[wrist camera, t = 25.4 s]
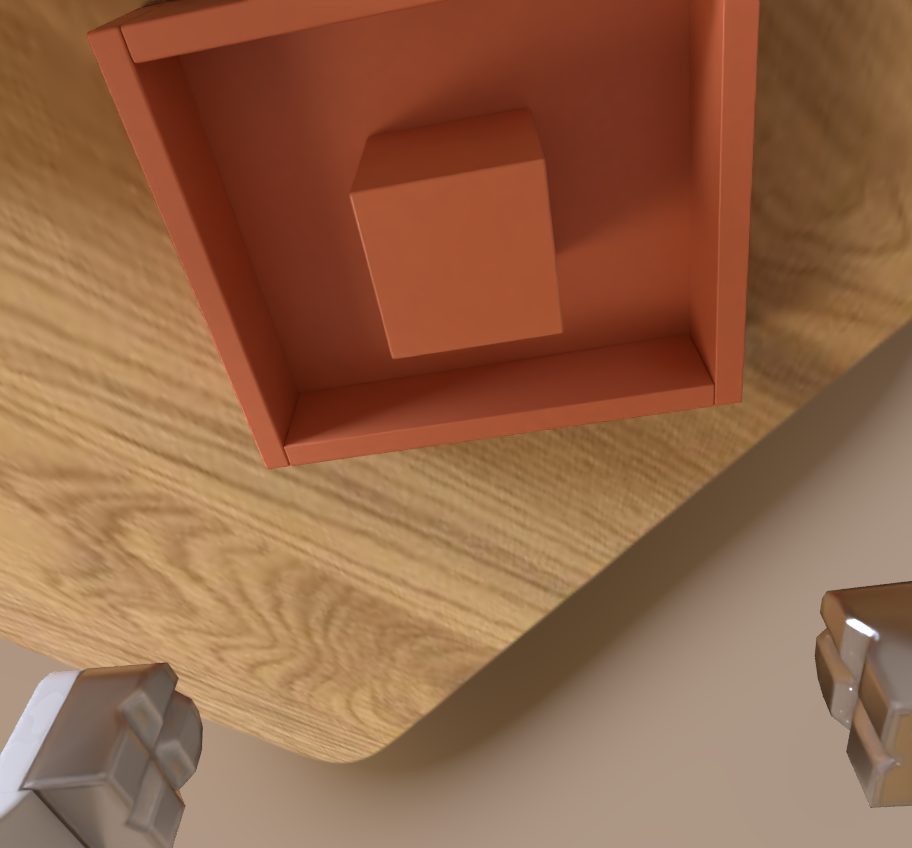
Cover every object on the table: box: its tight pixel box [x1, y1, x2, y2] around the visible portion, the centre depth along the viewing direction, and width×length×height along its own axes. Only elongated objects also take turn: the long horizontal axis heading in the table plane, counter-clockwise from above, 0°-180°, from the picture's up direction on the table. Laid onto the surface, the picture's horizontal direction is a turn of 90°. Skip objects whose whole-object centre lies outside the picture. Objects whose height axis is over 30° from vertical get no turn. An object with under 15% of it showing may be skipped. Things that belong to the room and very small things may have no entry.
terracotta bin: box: [87, 0, 760, 469], centre depth 21 cm, size 15×13×4 cm
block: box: [349, 107, 564, 359], centre depth 20 cm, size 4×4×4 cm
